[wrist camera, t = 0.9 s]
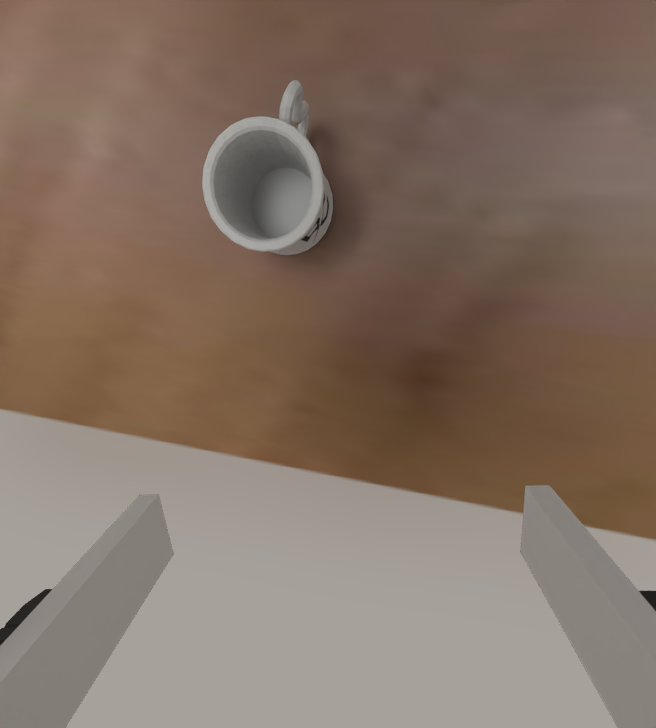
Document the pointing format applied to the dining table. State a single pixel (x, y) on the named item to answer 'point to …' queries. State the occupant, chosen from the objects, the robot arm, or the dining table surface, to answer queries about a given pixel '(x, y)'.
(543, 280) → the dining table surface
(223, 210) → the mug
